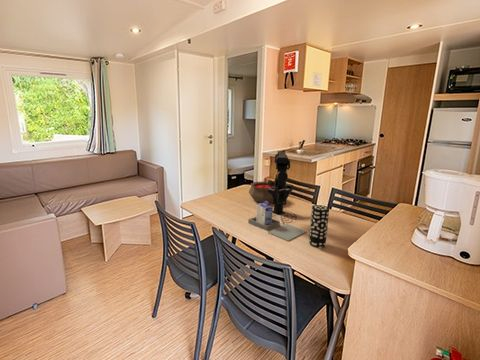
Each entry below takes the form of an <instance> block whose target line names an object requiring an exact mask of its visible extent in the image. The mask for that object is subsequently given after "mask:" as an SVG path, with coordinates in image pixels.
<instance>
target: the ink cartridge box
mask: <svg viewBox="0 0 480 360" xmlns="http://www.w3.org/2000/svg"><path fill="white" fill-rule="evenodd" d="M265 202H267V201H265ZM265 202H264V203H257V205H256V215H255V217H256V222H259V223H261V224H264V225H266V226H267V225H270V224H272V219H273V212H272V211H273V210H274V206H272V205H269V204H270V203H269V202H267V203H265Z"/></svg>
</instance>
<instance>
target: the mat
mask: <svg viewBox="0 0 480 360" xmlns="http://www.w3.org/2000/svg"><path fill="white" fill-rule="evenodd" d="M307 232H308V231H307V230H305V229H303V228H300V227H297V226H294V225H291V224H288V223H286V224H284V225H281V226H279V227H275V229H274V228H273V229H271V230H268V232H267V234H269V235H271V236H274V237H277V238H279V239H280V240H281V239H282V240H283V241H286V242H290V241H292V240H294V239H297V238H298V237H300V236H302V235H304V234H306V233H307Z"/></svg>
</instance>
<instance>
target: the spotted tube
mask: <svg viewBox="0 0 480 360" xmlns="http://www.w3.org/2000/svg"><path fill="white" fill-rule="evenodd" d="M310 214H311V217H310V227H309V228H310V229H309V238H308V244H309V245H310V246H311V247H313V248H317V249H319V248H320V249H322V248H325V247H326V246H327V245H326V243H327V235H328V234H327V233H328V224H329V217H330V216H329V214H330V207H329V206H326V205H321V204H315V205H314V204H313V205H312V206H311V213H310Z"/></svg>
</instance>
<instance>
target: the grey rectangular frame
mask: <svg viewBox="0 0 480 360" xmlns="http://www.w3.org/2000/svg"><path fill="white" fill-rule="evenodd" d="M247 223H248V224H249V225H251V226H254V227H256V228H259V229H261V230H264V231H271V230H273V229H274V228H278V226H279V227H280V225H281V221H280V220H276V219H275V218H274V219H273V218H272V224H270V225H267V226H266V225H264V224H261V223H259V222H256V216H254V217H252V218H248V222H247Z"/></svg>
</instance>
